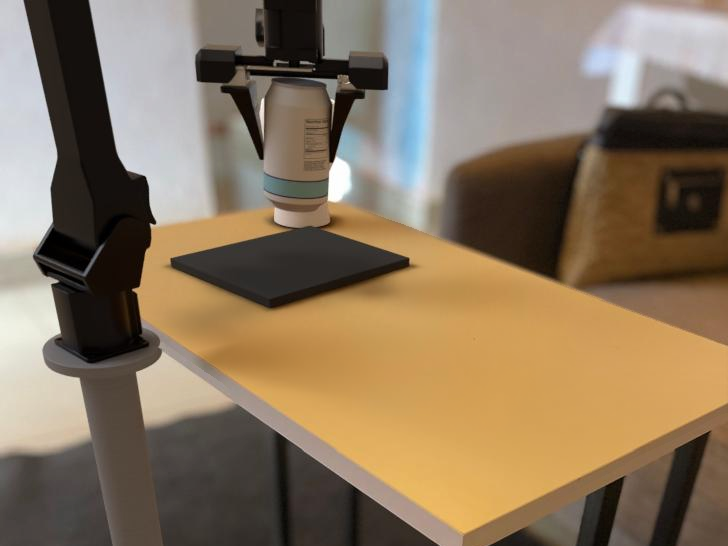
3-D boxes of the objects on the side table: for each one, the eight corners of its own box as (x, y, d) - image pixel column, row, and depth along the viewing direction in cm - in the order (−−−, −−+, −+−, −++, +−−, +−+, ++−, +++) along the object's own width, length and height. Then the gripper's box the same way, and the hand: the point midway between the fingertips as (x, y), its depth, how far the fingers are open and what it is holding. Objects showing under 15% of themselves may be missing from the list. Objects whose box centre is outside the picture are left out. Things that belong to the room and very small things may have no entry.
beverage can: (284, 194, 95) (286, 74, 88) (338, 206, 93) (345, 85, 86) (251, 205, 89) (250, 79, 82) (308, 219, 87) (312, 90, 80)
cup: (255, 228, 112) (247, 103, 104) (273, 208, 121) (268, 91, 112) (333, 234, 112) (332, 109, 103) (346, 213, 120) (346, 97, 112)
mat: (270, 308, 89) (269, 298, 88) (170, 266, 98) (169, 258, 98) (409, 265, 102) (409, 257, 102) (310, 232, 112) (310, 225, 111)
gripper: (389, -16, 86) (384, 148, 95) (206, -25, 85) (219, 142, 94) (390, -10, 77) (385, 170, 86) (186, -21, 76) (203, 163, 85)
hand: (297, 160), depth 88 cm, fingers closed on beverage can, 7 cm apart
